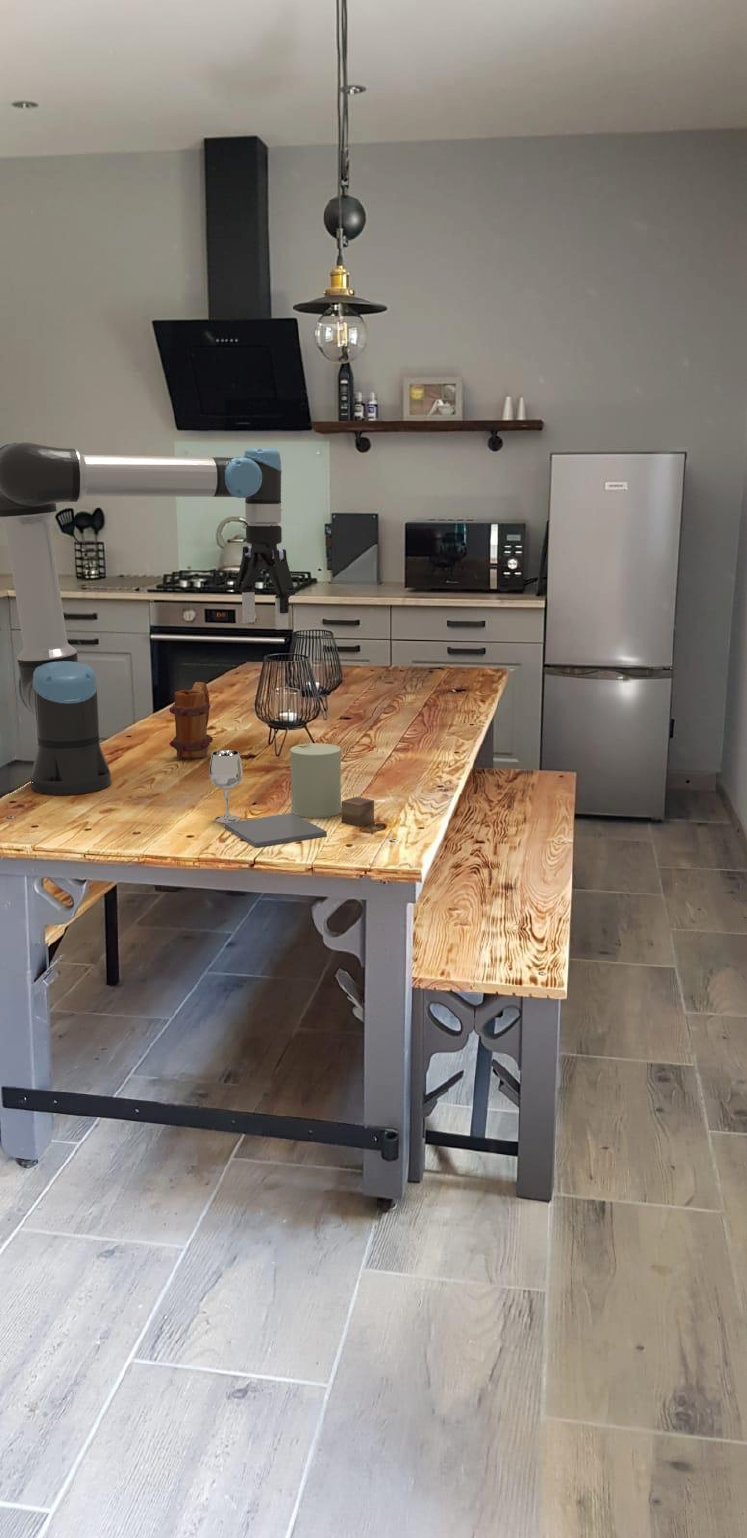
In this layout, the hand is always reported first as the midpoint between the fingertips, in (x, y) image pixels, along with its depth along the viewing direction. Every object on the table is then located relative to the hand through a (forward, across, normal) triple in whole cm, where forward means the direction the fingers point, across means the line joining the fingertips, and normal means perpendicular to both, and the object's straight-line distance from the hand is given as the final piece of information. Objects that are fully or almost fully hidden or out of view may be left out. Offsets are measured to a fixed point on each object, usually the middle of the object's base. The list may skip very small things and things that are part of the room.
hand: (265, 625), depth 262 cm
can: (+27, -48, +19) cm, 58 cm away
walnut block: (+27, -58, +17) cm, 66 cm away
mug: (+28, +5, +15) cm, 32 cm away
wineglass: (+28, -43, +34) cm, 62 cm away
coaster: (+27, -54, +32) cm, 69 cm away
